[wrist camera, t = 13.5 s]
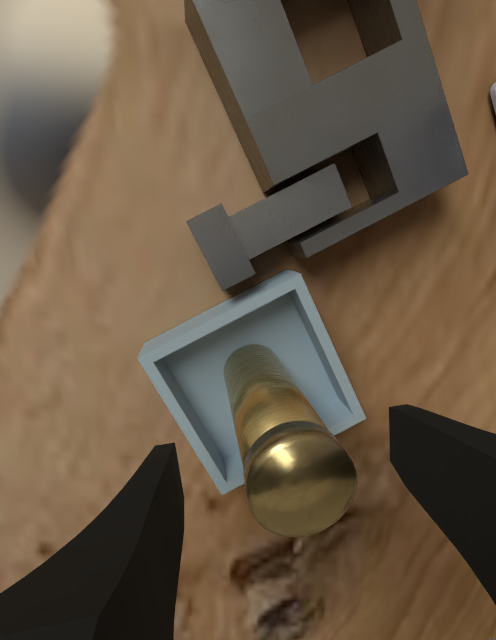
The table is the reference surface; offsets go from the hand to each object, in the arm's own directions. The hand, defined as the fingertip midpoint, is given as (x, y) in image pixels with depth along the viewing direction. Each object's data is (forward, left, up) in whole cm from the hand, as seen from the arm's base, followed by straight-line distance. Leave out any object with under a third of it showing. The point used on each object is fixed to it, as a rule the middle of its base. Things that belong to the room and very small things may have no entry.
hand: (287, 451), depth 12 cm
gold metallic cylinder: (0, 0, -7) cm, 7 cm away
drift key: (+6, -4, -8) cm, 11 cm away
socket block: (+10, -8, -8) cm, 15 cm away
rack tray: (0, 0, -8) cm, 8 cm away
